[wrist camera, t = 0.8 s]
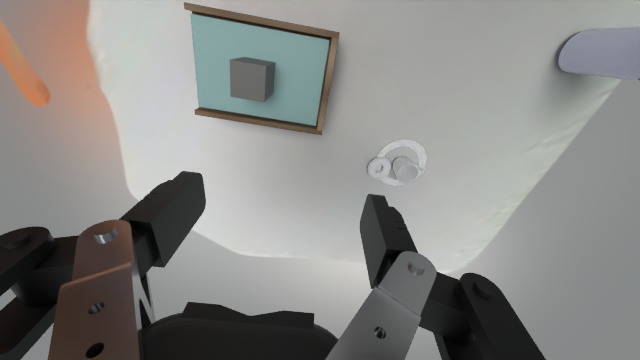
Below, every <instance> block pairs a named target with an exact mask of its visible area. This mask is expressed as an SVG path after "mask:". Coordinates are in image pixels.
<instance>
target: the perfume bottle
mask: <svg viewBox="0 0 640 360" xmlns="http://www.w3.org/2000/svg"><path fill="white" fill-rule="evenodd" d="M559 66H560V68H561V69H562V70H563V71H564V72H568V73H576V74H584V75H592V76H600V77H609V78H617V79H626V80H635V81H640V27H625V28H606V29H588V30H584V31H582V32H579V33H578V34H576V35H575V36H573V37H572V38H571V39H570V40H569V41H568V42H567V43H566V44H565V45H564V47H563V49H562V50H561V53H560V55H559Z"/></svg>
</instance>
